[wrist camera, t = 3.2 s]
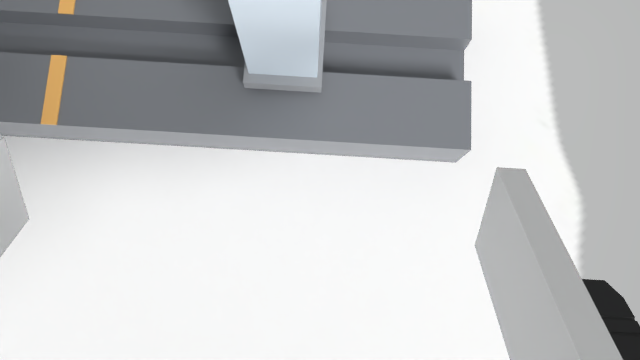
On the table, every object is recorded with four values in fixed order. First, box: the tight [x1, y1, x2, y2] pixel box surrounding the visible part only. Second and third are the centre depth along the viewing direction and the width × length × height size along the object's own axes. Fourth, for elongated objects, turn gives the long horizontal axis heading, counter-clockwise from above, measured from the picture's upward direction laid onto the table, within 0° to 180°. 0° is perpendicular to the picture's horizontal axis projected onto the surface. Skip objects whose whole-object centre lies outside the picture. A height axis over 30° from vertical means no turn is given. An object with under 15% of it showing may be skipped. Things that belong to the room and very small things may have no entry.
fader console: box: [0, 0, 472, 162], centre depth 31 cm, size 28×10×3 cm, turn 87°
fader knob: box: [228, 0, 327, 93], centre depth 26 cm, size 4×5×10 cm
